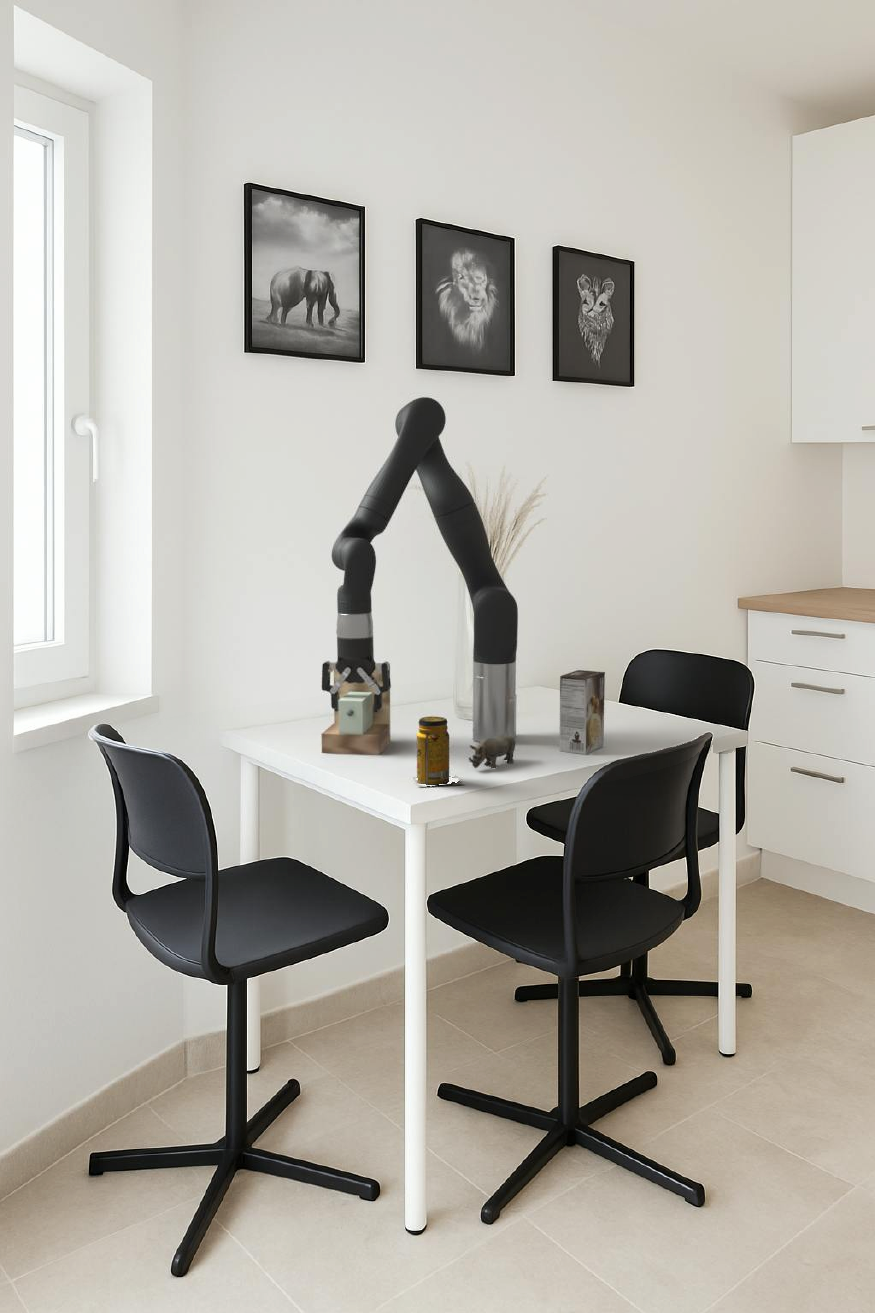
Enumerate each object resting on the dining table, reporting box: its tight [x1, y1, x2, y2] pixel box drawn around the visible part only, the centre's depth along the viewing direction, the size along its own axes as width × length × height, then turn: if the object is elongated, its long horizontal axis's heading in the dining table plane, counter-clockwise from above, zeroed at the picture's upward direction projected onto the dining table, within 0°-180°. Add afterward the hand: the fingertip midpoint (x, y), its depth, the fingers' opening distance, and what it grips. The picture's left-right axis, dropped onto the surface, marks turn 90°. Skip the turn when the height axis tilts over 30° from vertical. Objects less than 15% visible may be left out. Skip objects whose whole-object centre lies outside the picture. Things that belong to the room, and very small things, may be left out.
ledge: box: [321, 722, 390, 756], centre depth 225 cm, size 12×11×4 cm
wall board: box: [333, 661, 391, 743], centre depth 230 cm, size 12×2×17 cm, turn 82°
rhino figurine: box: [468, 733, 516, 769], centre depth 209 cm, size 4×14×6 cm, turn 138°
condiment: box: [412, 715, 465, 788], centre depth 198 cm, size 7×8×12 cm
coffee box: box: [558, 669, 606, 756], centre depth 223 cm, size 9×6×16 cm
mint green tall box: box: [338, 692, 373, 735], centre depth 224 cm, size 5×11×7 cm, turn 171°
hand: (356, 711), depth 224 cm, fingers open, 8 cm apart
